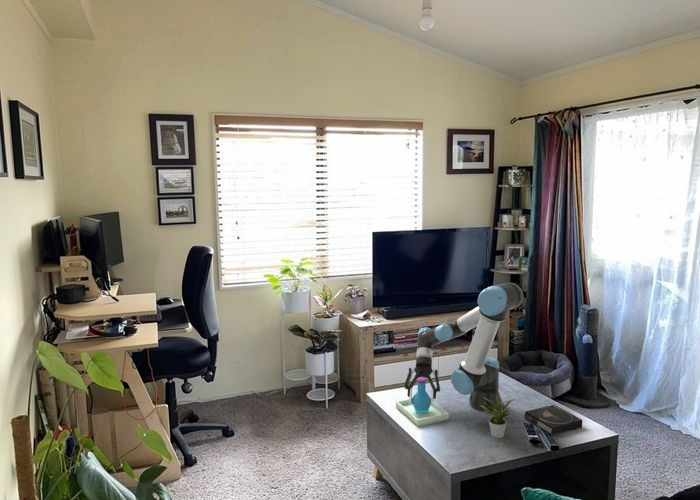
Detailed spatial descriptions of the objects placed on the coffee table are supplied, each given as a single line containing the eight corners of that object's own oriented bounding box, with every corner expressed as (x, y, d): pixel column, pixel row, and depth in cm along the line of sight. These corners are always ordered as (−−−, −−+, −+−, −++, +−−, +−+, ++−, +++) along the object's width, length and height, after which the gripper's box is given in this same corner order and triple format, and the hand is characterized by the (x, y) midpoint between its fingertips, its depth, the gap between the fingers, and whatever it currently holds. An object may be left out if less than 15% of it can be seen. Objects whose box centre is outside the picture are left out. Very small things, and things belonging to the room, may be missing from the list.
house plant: (502, 423, 228) (503, 388, 225) (523, 437, 215) (524, 400, 213) (475, 429, 223) (475, 393, 220) (495, 444, 210) (495, 406, 207)
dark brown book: (524, 419, 232) (524, 411, 231) (554, 412, 238) (554, 404, 237) (550, 436, 216) (551, 427, 216) (582, 428, 222) (582, 419, 222)
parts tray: (448, 419, 232) (448, 413, 232) (417, 426, 226) (417, 420, 226) (425, 401, 251) (425, 395, 251) (395, 407, 246) (395, 401, 245)
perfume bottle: (433, 413, 234) (433, 382, 232) (413, 414, 234) (413, 383, 231) (429, 404, 243) (429, 374, 241) (409, 405, 243) (409, 375, 241)
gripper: (447, 363, 248) (445, 409, 235) (402, 360, 253) (398, 405, 240) (447, 356, 242) (445, 403, 229) (400, 354, 247) (396, 399, 234)
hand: (421, 404), depth 235 cm, fingers closed on perfume bottle, 9 cm apart
